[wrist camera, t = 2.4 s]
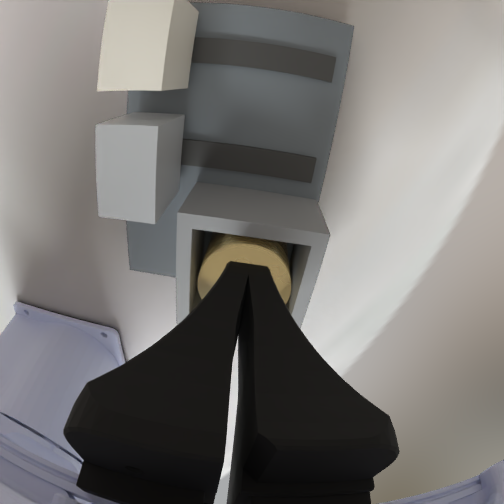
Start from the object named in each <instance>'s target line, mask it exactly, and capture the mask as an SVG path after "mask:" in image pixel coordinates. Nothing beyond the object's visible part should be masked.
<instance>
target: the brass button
mask: <svg viewBox="0 0 504 504" xmlns="http://www.w3.org/2000/svg"><path fill="white" fill-rule="evenodd" d="M230 261H234V262H241V263H248V264H255V265H262V266H267V267H268V268H269V269H270V272H271V275H272V277H273V280H274V282H275V284H276V287H277V289H278V291H279V293H280V295H281V297H282V299H283V301H284V303H285V304H286V303H287V301H288V300H289V297H290V294H291V278H290V269H289V260H288V251H287V242H281V241H274V240H267V239H260V238H253V237H246V236H240V235H233V234H226V233H218V232H212V235H211V238H210V241H209V244H208V247H207V250H206V254H205V257H204V260H203V263H202V266H201V269H200V273H199V276H198V282H197V284H198V291H199V294H200V297H201V299H203V298H204V297H205V296H206V295H207V293H208V292H209V291H210V289H211V288H212V287H213V285H214V284H215V283H216V281H217V280H218V278H219V277H220V275H221V274H222V272H223V270H224V268H225V267H226V264H227V263H228V262H230Z"/></svg>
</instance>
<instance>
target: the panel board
mask: <svg viewBox="0 0 504 504" xmlns="http://www.w3.org/2000/svg"><path fill="white" fill-rule="evenodd" d="M190 3H191V4H192V5H193V6H194V7H195V8H196V9H197V10H198V11H199V14H198V20H197V26H196V32H195V39H194V45H193V52H192V59H191V67H190V74H189V82H188V88H185V89H174V90H164V91H147V90H128V102H127V114H130V113H133V112H145V113H167V114H183V115H185V119H184V130H183V141H182V154H181V168H180V184H179V191H178V193H177V194H176V196H175V197H174V198H173V200H172V201H171V202H170V204H169V205H168V207H167V208H166V209H165V211H164V212H163V214H162V215H161V217H160V218H159V219H158V221H157V222H156V224H150V223H142V222H135V221H127V220H126V222H127V239H128V253H129V265H130V270H134V271H140V272H146V273H152V274H158V275H164V276H170V277H176V321H177V324H179V323H180V322H181V321H182V320H183V319H184V318H185V317H186V316H187V315H188V314H189V313H190V312H191V311H192V310H193V309H194V308H195V307H196V306H197V305H198V304H199V303H200V301H201V300H202V299H201V297H200V294H199V291H198V284H197V282H198V276H199V273H200V269H201V266H202V263H203V260H204V257H205V254H206V250H207V247H208V244H209V241H210V238H211V235H212V232H218V233H226V234H233V235H240V236H246V237H253V238H260V239H267V240H274V241H281V242H287V251H288V260H289V269H290V278H291V294H290V297H289V300H288V301H287V303H286V306H287V308H288V310H289V312H290V313H291V315H292V317H293V319H294V320H295V322H296V323H297V325H298V326H299V328H301V325H302V323H303V320H304V317H305V314H306V311H307V308H308V305H309V302H310V299H311V296H312V293H313V290H314V286H315V283H316V280H317V277H318V274H319V271H320V267H321V264H322V261H323V258H324V254H325V251H326V248H327V244H328V241H329V238H330V233H329V230H328V228H327V225H326V222H325V220H324V217H323V215H322V212H321V210H320V207H319V205H318V202H319V198H320V194H321V189H322V185H323V181H324V177H325V172H326V168H327V164H328V159H329V155H330V150H331V146H332V141H333V137H334V132H335V127H336V123H337V118H338V113H339V108H340V103H341V98H342V93H343V87H344V82H345V77H346V71H347V66H348V60H349V55H350V49H351V43H352V37H353V30H354V26H352V25H348V24H345V23H341V22H337V21H333V20H329V19H325V18H321V17H317V16H312V15H307V14H302V13H297V12H292V11H286V10H279V9H273V8H266V7H258V6H248V5H238V4H224V3H193V2H190Z"/></svg>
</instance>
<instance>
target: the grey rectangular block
mask: <svg viewBox="0 0 504 504" xmlns="http://www.w3.org/2000/svg"><path fill="white" fill-rule="evenodd" d="M184 119H185V115H183V114H167V113H145V112H133V113H130V114H127V115H123V116H120V117H117V118H114V119H111V120H107V121H104V122H101V123H98V124H96V129H95V155H96V185H97V202H98V215H99V217H104V218H112V219H119V220H127V221H135V222H142V223H150V224H156V222H157V221H158V219H159V218H160V217H161V215H162V214H163V212H164V211H165V209H166V208H167V207H168V205H169V204H170V202H171V201H172V200H173V198H174V197H175V196H176V194H177V193H178V191H179V184H180V168H181V154H182V141H183V130H184Z"/></svg>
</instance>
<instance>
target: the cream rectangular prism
mask: <svg viewBox="0 0 504 504" xmlns="http://www.w3.org/2000/svg"><path fill="white" fill-rule="evenodd" d="M198 14H199V11H198V10H197V9H196V8H195V7H194V6H193V5H192V4H191V3H190V2H189V1H188V0H108V6H107V11H106V17H105V23H104V29H103V36H102V44H101V52H100V61H99V71H98V84H97V91H125V90H147V91H164V90H174V89H185V88H188V82H189V74H190V67H191V59H192V52H193V45H194V39H195V32H196V26H197V20H198Z"/></svg>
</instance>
